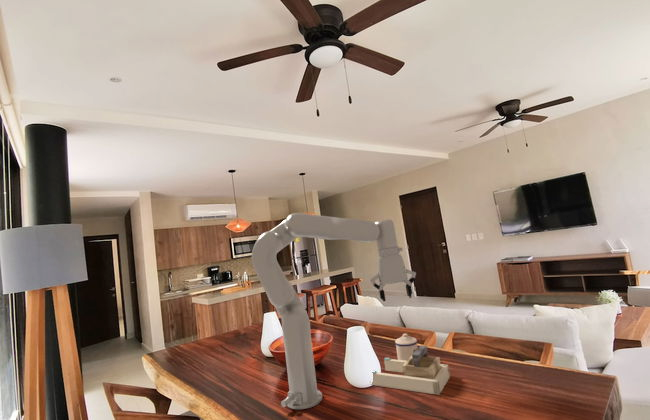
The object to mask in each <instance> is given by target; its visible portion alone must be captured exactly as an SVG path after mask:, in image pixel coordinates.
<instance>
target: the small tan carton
mask: <svg viewBox="0 0 650 420" xmlns="http://www.w3.org/2000/svg"><path fill="white" fill-rule="evenodd" d="M441 364H442V363H441V358H440V357H438V356H428V346H427V345H422V344H421V345H420V346H419V347H418V349H417V350H416V351H415V352H414V353H413V355H412V356H411V357H410V358H409V359H408V360H407V361H406V362H405V363H404V364H403V365H402V366H403V373H402V374H403V376H411V377H419V378H427V379H434V378H435V377H436V375H437V374H438V372H439V371H440V369H441Z"/></svg>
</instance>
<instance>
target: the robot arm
mask: <svg viewBox="0 0 650 420" xmlns="http://www.w3.org/2000/svg"><path fill="white" fill-rule="evenodd" d="M394 223H395V221H394V220H392V219H389V218H388V219H383V220H381V219H380V220H377V221H371V220H365V219H364V220H363V219H355V218H345V217H337V216H327V215H317V214H311V213H310V214H309V213H302V212H293V213H291V214H288V216H286V219H284V220H283V221H282V222H281V223H279V224H278V225H276V226H275V227H274V228H272V229H271V230H269V231H265V232H263V233H261V235H260V236H259V237H258V238H257V239H256V241H255V243H254V246H253V248H252V250H251V251H252V252H251V263H252V266H253V269H254V272H255V274H256V275H257V278H258V280H259V282H260V284H261V287H262V288H263V290H264V292H265V294H266V296H267V299H268V300H269V302H270V304H271V305H272V306H274V308H275V309H276V312H277V314H278V315H279V317H280V319H281V329H282V335H283V346H284V353H285V363H286V371H287V372H286V373H287V381H288V389H289V391H287V396H286V397H285V398H284V399H283V400H282V401H280V405H281V407H282V408H286V407H288V408H289V409H293V410H305V409H310V408H312V407H315V406H317V405H319V404H320V403H321V401H322V400H323V393H322V392H321V391H320V390H319V389H318V386H317V376H316V368H315V361H314V352H313V344H312V335H311V332H312V331H311V320H310V317H309V314H308V312H307V311H306V308H305V306H304V305H303V303H302V301H301V299H300V298H299V296H298V294H297V292H296V290H295V288H294V286H293V284H292V283H291V282H290V281H289V280H288V279H287V277H286V275H285V273H284V271H283V269H282V268H281V266H280V263H279V262H278V260H277V257H278V256H277V254H278V253H279V252H280V251H281V250H283V249H284V248H286V247H287V246H288V245H289V244H291V243H292V242H294V241H295V240H297V239H298V238H299V237H301V238H310V239H320V240H330V241H334V240H336V241H337V240H344V241H345V240H347V241H348V240H349V241H357V242H359V243H373V242H375V241H376V246H377V252H378V256H379V257H377V258H376V262H377V263H376V266H377V267H376V268H377V274H375V275H373V277H371V278H370V279H369V282H370V283H371V284H372V286H373V287H375V288H376V289H377V290H378V293H379V298H380V300H382V301H383V302H386V294H385V290H384V287H385V285H390V284H391V285H392V284H397V283H402V282H403V283H405V290H406V295H407V297H409V298H411V297H412V294H413V290H412V284H413V283H414V281H415V280H416V279H415V278H416V276H417V272H416V271H414V270H409V269H406V265H405V262H404V258H403V256H402V254H400V252H403V247H402V246H401V247H400V246H398V240H397V234H396V228H395V224H394ZM408 274H409V275H410V278H409V279H408ZM376 280H379V281H378V282H379V284H377V283H376Z"/></svg>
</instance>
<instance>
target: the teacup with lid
mask: <svg viewBox="0 0 650 420" xmlns="http://www.w3.org/2000/svg"><path fill="white" fill-rule="evenodd" d="M394 343H395V347H396V356H397V360H405V361H407V360H408V359H409V358H410V357H411V356H412V355H413V353H414V352H415V351H416V350H417V349H418V348H419V347H418V346H419V345H418V339H416V337H413V336H410V335H408V333H403V334H402V336H400V337H398V338H396V339H395V341H394Z"/></svg>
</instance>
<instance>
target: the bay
mask: <svg viewBox="0 0 650 420" xmlns="http://www.w3.org/2000/svg"><path fill="white" fill-rule="evenodd" d="M405 362H406V361H405V360H398V359H394V358H391V357H384V359H383V363H384V369H385V370H384V371H386V372H394V373H402V374H403V375H402V374H394V373H386V372H378V371H377V370H374V371H375V372H372V373H373V382H372V384H371V383H370V385H371V386H377V387H382V388H383V387H385V388H390V389H397V390H402V391H403V390H404V391H410V392H416V393H422V394H431V395H438V396H440V394H441V393H442V391H443V389H444V388H445V385H446V384H447V383H448V381H449V379H450V378H451V374H450V366H449V364H444V363H441V369H440V371H439V372H438V374H437V375H436V377H435V378H434V379H427V378H419V377H411V376H404V373H403V366H402V365H403V364H404V363H405Z"/></svg>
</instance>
